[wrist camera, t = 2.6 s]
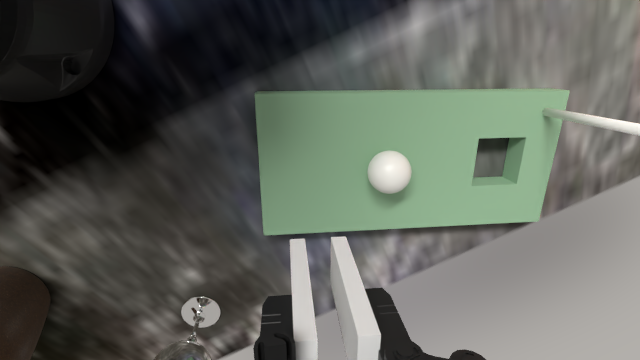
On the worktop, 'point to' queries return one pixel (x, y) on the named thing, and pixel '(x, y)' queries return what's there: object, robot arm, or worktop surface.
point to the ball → (389, 172)
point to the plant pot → (21, 312)
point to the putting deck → (416, 145)
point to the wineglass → (197, 312)
